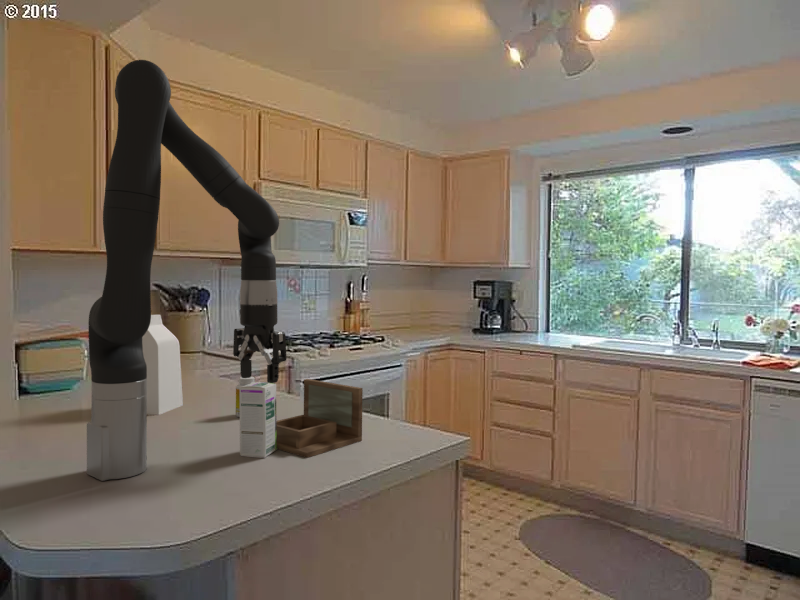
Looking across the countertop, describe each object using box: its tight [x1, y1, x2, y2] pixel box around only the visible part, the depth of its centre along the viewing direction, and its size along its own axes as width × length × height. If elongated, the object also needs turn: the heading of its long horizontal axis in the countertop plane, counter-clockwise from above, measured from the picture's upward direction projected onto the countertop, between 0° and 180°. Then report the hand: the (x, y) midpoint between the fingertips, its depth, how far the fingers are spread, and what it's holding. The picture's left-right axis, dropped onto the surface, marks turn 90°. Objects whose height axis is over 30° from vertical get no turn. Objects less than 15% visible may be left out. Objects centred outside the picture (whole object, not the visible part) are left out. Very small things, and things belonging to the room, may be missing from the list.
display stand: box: [276, 378, 364, 459], centre depth 129 cm, size 17×18×12 cm
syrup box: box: [239, 381, 278, 459], centre depth 119 cm, size 6×6×14 cm
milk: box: [142, 314, 184, 416], centre depth 158 cm, size 12×12×26 cm
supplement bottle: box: [235, 376, 256, 418], centre depth 152 cm, size 6×6×10 cm
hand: (259, 380), depth 119 cm, fingers open, 8 cm apart
